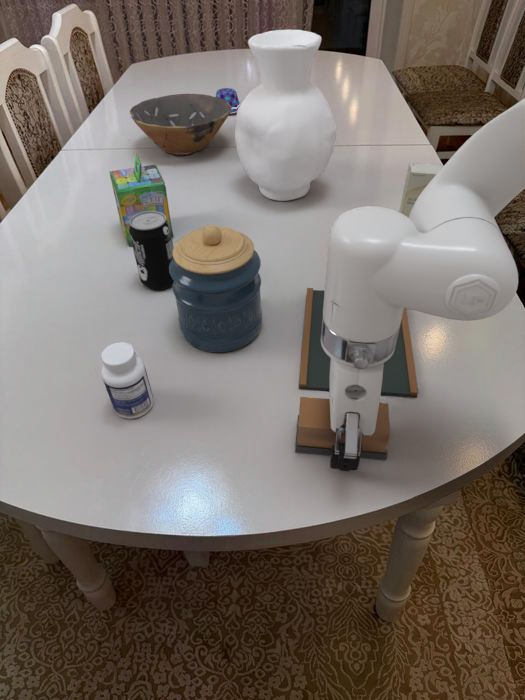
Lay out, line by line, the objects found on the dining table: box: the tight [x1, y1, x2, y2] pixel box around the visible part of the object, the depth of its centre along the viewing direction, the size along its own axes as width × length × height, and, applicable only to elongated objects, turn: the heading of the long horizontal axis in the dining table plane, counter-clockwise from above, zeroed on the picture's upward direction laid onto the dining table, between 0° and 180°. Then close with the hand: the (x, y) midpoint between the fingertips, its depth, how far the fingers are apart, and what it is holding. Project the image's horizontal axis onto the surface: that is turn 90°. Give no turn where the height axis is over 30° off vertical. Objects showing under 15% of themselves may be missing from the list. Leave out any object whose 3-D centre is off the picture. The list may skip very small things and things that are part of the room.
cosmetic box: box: [398, 162, 444, 218], centre depth 95 cm, size 6×4×12 cm
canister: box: [169, 224, 263, 353], centre depth 72 cm, size 13×13×18 cm
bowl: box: [129, 93, 232, 156], centre depth 126 cm, size 25×25×10 cm
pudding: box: [215, 87, 243, 115], centre depth 149 cm, size 12×12×5 cm
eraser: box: [294, 396, 391, 461], centre depth 61 cm, size 11×5×5 cm, turn 83°
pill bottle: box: [101, 341, 154, 420], centre depth 64 cm, size 5×5×10 cm
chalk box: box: [109, 154, 174, 247], centre depth 95 cm, size 9×9×15 cm
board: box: [298, 287, 419, 399], centre depth 75 cm, size 16×22×1 cm
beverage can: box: [129, 211, 174, 291], centre depth 83 cm, size 7×7×12 cm
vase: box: [234, 28, 338, 202], centre depth 101 cm, size 19×21×30 cm
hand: (343, 434), depth 62 cm, fingers open, 9 cm apart
